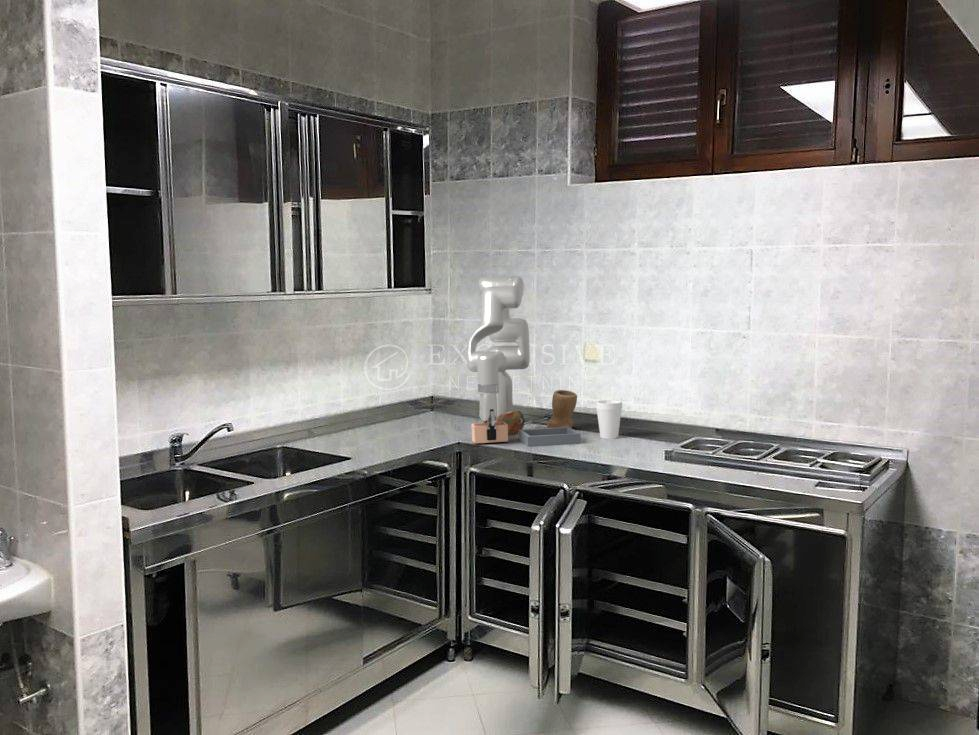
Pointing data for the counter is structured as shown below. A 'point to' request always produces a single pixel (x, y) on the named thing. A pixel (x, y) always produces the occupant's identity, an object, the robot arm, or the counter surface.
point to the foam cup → (609, 417)
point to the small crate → (481, 432)
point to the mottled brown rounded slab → (512, 421)
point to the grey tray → (549, 436)
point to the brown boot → (562, 409)
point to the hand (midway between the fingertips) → (489, 437)
